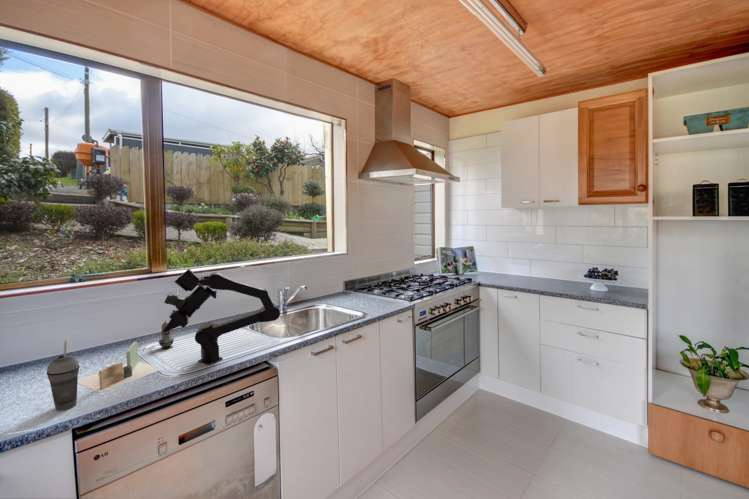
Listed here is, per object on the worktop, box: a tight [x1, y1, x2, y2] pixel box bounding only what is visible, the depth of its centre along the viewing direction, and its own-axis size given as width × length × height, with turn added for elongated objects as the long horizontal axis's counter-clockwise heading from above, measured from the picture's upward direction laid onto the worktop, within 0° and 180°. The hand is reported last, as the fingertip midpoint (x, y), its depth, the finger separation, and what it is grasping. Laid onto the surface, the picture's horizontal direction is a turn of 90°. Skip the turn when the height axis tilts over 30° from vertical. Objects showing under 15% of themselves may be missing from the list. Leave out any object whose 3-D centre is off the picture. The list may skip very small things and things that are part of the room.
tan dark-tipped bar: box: [98, 361, 132, 389], centre depth 120 cm, size 11×2×6 cm, turn 167°
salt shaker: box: [158, 320, 175, 351], centre depth 152 cm, size 6×6×12 cm
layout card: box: [77, 360, 159, 394], centre depth 126 cm, size 17×20×1 cm
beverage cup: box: [45, 340, 80, 412], centre depth 104 cm, size 7×7×20 cm
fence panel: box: [125, 340, 139, 371], centre depth 131 cm, size 11×1×8 cm, turn 22°
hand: (164, 331), depth 132 cm, fingers closed
